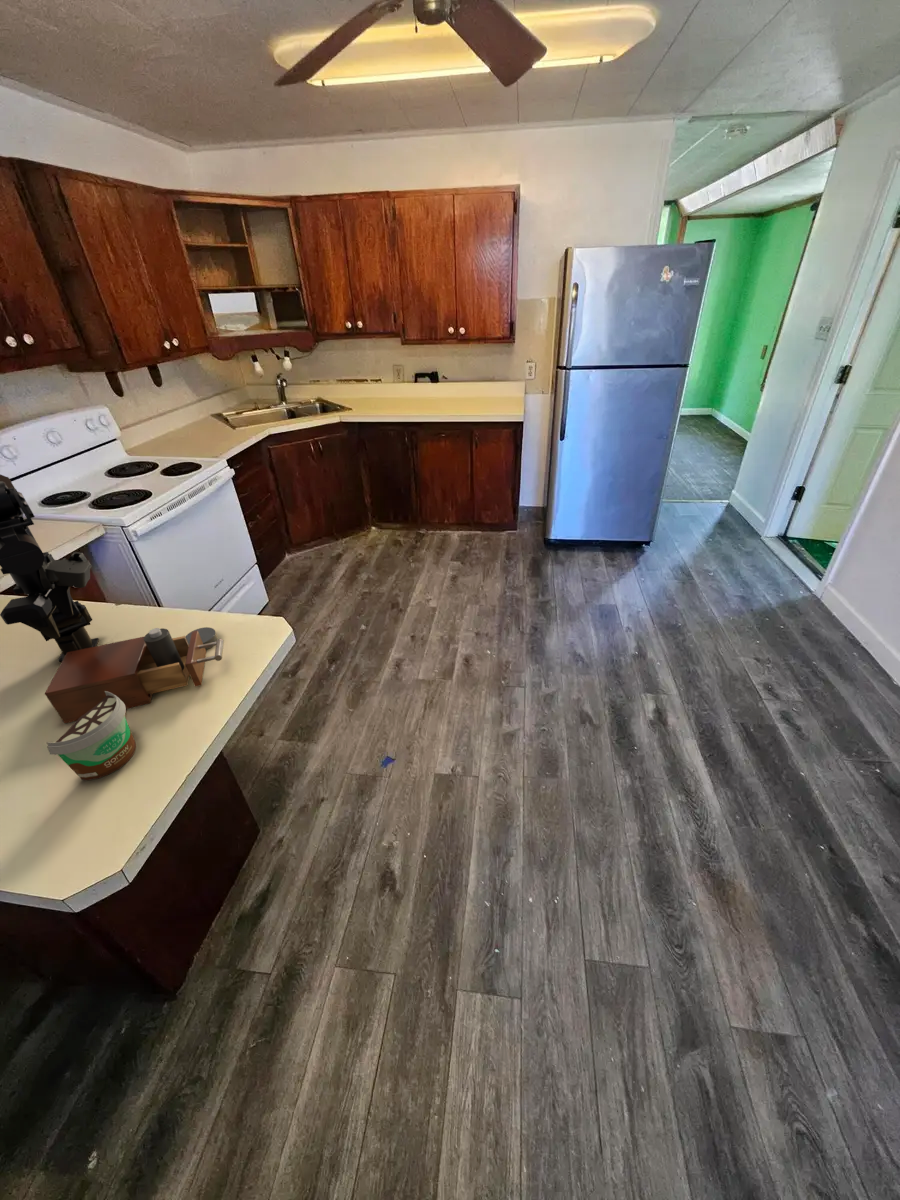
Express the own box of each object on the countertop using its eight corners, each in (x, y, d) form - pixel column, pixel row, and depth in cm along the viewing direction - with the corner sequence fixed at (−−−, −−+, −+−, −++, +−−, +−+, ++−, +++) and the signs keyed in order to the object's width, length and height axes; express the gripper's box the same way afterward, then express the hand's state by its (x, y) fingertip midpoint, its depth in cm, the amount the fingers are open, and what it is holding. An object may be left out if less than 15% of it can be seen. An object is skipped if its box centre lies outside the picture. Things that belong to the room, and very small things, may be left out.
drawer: (229, 646, 106) (221, 625, 103) (226, 679, 97) (217, 657, 94) (138, 666, 102) (126, 645, 99) (126, 703, 93) (113, 680, 89)
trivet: (188, 638, 111) (185, 631, 110) (219, 631, 113) (216, 624, 112) (185, 654, 106) (181, 647, 105) (217, 647, 108) (214, 640, 107)
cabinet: (161, 663, 104) (147, 635, 100) (150, 703, 94) (134, 673, 90) (84, 680, 100) (66, 652, 96) (64, 723, 90) (44, 693, 86)
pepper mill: (171, 662, 101) (153, 623, 96) (189, 664, 100) (171, 625, 94) (155, 675, 97) (136, 636, 92) (173, 678, 96) (154, 638, 91)
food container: (106, 792, 77) (77, 750, 71) (74, 787, 78) (43, 745, 72) (160, 733, 87) (138, 692, 81) (130, 729, 88) (107, 688, 83)
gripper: (55, 570, 80) (97, 644, 89) (88, 527, 95) (120, 594, 104) (-24, 583, 77) (26, 659, 86) (22, 537, 93) (61, 605, 101)
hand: (63, 626), depth 94 cm, fingers open, 8 cm apart
